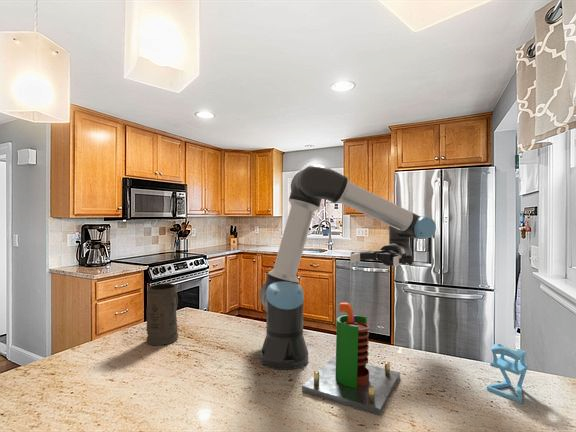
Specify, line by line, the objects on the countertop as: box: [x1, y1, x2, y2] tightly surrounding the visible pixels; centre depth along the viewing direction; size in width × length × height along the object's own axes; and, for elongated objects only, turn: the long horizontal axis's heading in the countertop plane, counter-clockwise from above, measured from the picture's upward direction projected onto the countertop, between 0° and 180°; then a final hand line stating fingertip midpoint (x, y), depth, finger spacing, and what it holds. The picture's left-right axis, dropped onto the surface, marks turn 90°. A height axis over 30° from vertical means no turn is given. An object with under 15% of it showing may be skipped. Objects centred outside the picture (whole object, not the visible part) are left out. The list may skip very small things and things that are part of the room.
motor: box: [335, 302, 370, 388], centre depth 88 cm, size 10×9×20 cm
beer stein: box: [146, 283, 179, 346], centre depth 120 cm, size 15×11×20 cm
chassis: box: [301, 356, 401, 417], centre depth 88 cm, size 20×21×4 cm
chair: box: [486, 343, 529, 403], centre depth 85 cm, size 8×8×12 cm
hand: (372, 260), depth 100 cm, fingers open, 13 cm apart
